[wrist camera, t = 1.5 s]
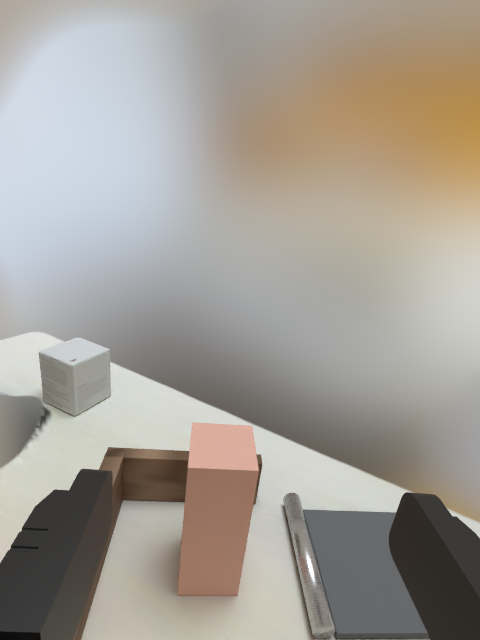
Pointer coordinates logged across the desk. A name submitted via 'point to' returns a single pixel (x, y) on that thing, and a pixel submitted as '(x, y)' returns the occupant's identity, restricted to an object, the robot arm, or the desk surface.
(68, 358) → the product box
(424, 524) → the robot arm
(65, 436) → the desk surface
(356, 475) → the desk surface
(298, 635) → the desk surface
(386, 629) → the mat
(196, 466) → the tall pink rectangular block
